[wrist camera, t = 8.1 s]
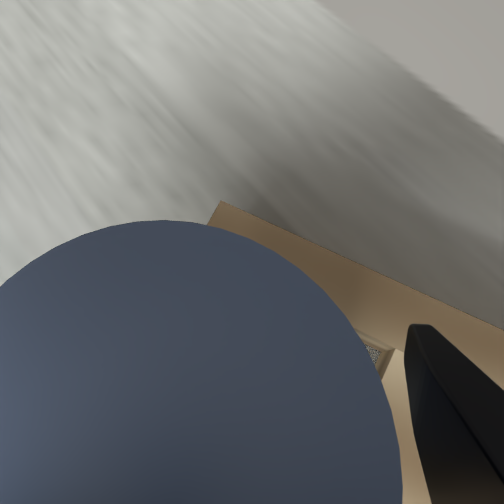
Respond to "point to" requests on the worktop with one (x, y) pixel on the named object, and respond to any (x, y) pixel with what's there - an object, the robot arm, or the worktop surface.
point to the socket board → (379, 323)
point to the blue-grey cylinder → (185, 378)
